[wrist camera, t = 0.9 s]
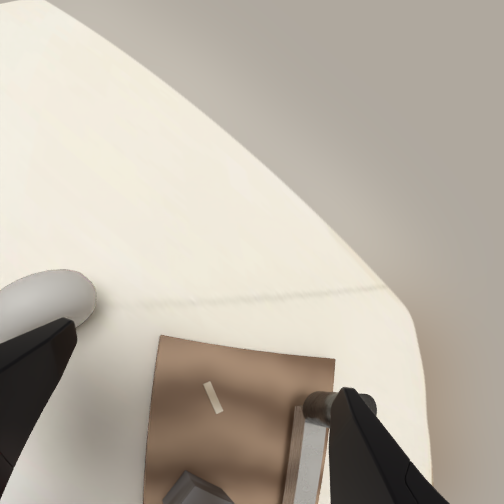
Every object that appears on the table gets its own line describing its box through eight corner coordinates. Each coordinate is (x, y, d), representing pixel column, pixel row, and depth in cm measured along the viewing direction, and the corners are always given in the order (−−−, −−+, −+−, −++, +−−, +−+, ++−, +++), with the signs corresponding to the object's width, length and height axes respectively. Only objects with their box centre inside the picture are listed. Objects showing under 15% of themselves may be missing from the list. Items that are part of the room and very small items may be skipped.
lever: (296, 541, 22) (346, 575, 14) (263, 546, 21) (307, 588, 13) (318, 389, 29) (381, 393, 21) (284, 388, 28) (343, 394, 20)
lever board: (300, 556, 22) (324, 574, 18) (142, 566, 17) (148, 594, 12) (328, 359, 32) (359, 356, 28) (159, 335, 27) (166, 331, 22)
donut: (92, 282, 26) (77, 244, 17) (107, 316, 25) (97, 295, 17) (4, 323, 21) (-46, 303, 12) (17, 358, 21) (-31, 356, 12)
